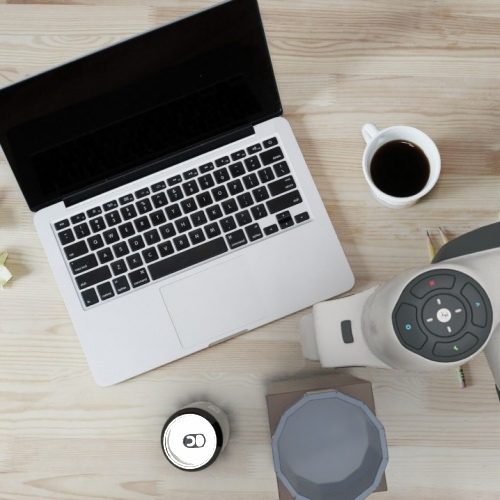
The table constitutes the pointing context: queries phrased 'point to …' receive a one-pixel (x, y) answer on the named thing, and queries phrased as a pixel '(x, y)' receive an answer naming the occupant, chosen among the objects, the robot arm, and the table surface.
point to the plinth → (291, 389)
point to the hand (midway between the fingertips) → (386, 329)
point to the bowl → (329, 447)
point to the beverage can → (195, 436)
